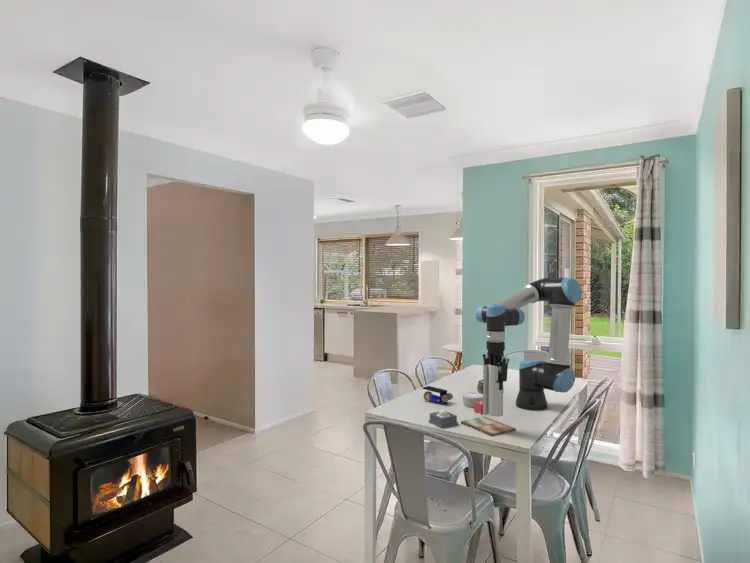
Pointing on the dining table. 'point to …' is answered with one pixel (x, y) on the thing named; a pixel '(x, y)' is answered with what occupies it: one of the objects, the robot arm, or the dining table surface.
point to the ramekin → (471, 398)
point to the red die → (478, 407)
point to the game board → (488, 426)
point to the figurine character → (442, 398)
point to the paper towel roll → (492, 391)
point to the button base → (443, 420)
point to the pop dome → (443, 413)
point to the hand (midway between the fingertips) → (495, 396)
